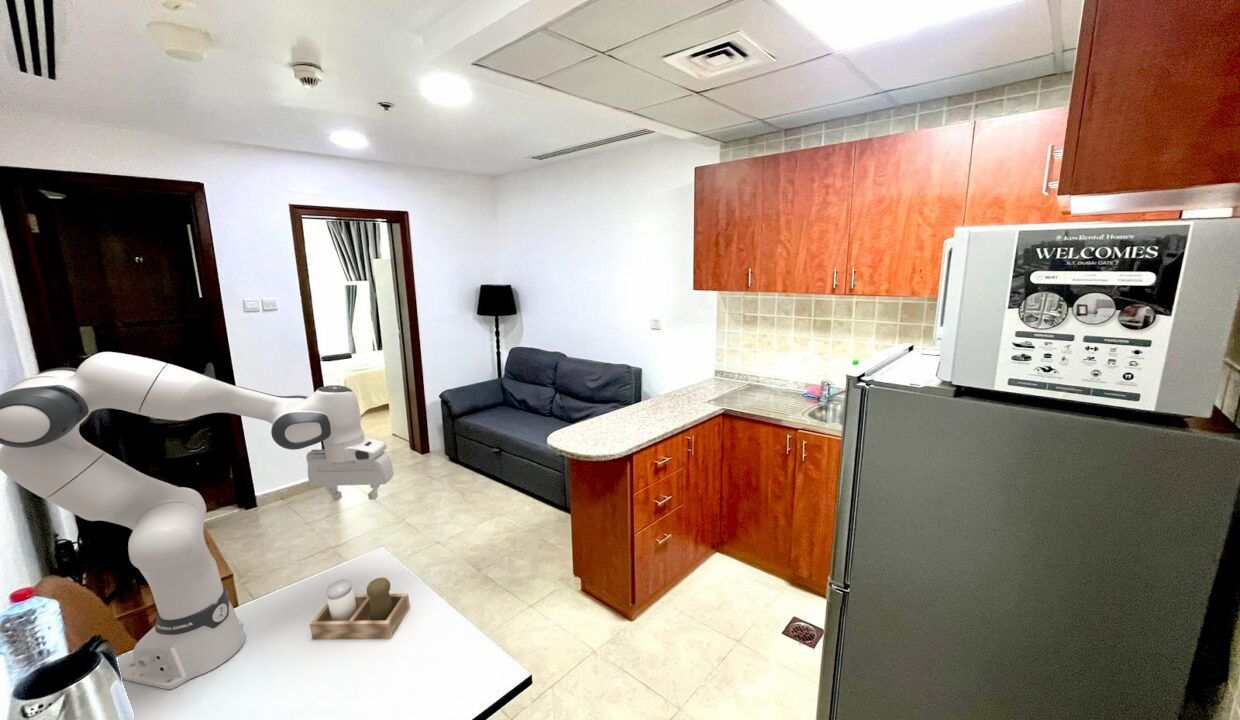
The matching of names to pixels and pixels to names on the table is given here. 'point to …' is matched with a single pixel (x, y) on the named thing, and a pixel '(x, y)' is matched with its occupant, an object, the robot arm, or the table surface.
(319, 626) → the caddy
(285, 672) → the table surface
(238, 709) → the table surface
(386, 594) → the cork
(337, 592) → the salt shaker
